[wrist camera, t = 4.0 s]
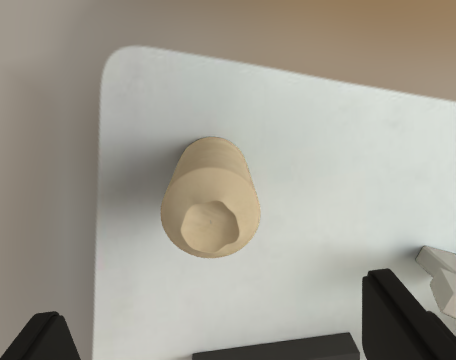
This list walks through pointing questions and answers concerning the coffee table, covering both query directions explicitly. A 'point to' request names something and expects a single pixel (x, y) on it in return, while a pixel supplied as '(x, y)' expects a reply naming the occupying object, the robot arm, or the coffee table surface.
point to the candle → (211, 200)
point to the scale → (292, 350)
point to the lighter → (441, 277)
